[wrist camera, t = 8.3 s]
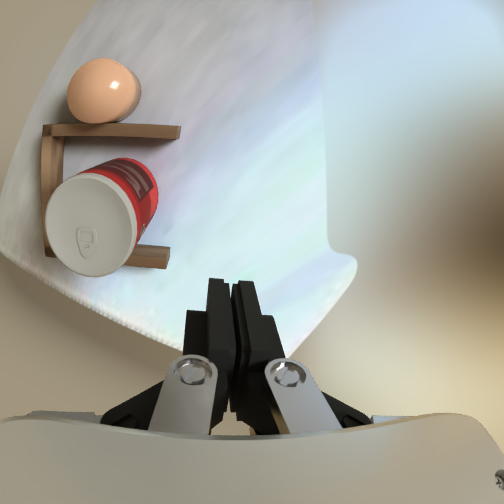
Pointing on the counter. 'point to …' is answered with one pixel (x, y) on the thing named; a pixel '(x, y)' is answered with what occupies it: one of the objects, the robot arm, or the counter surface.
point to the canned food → (101, 216)
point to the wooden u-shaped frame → (54, 173)
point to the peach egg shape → (103, 92)
